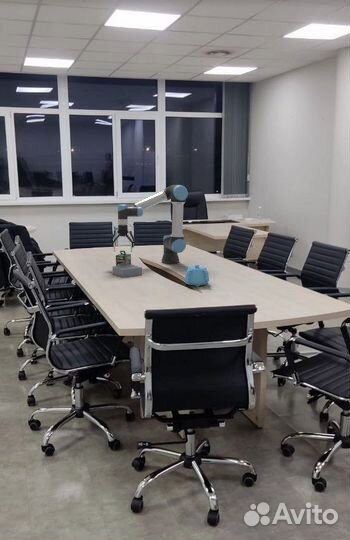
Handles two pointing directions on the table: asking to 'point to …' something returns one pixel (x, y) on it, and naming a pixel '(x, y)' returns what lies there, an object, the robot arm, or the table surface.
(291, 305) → the table surface
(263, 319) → the table surface
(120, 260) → the chalk box
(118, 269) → the grey base brick
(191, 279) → the decorative pot
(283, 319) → the table surface
